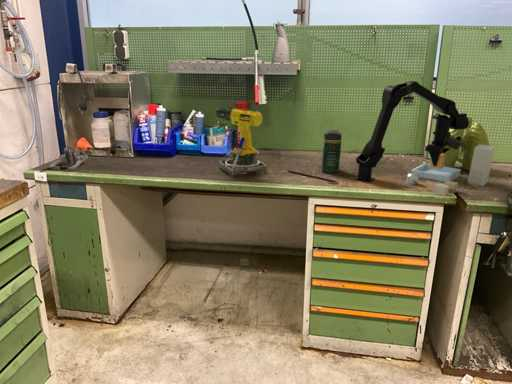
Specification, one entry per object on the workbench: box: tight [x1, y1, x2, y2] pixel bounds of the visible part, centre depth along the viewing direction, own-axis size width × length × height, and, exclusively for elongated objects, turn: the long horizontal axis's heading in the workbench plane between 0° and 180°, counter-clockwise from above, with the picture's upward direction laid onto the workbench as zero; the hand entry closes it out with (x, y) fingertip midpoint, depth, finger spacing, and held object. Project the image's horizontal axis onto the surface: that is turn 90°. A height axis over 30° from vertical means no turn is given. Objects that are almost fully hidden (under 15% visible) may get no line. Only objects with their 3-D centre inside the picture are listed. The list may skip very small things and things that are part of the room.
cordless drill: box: [213, 106, 268, 177], centre depth 188 cm, size 18×19×28 cm
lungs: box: [429, 116, 491, 171], centre depth 195 cm, size 25×16×24 cm, turn 80°
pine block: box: [443, 181, 459, 194], centre depth 165 cm, size 4×4×4 cm
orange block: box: [429, 154, 446, 169], centre depth 183 cm, size 4×4×6 cm
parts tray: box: [410, 162, 462, 184], centre depth 185 cm, size 16×16×3 cm
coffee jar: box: [321, 129, 343, 174], centre depth 189 cm, size 10×8×19 cm
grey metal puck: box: [406, 172, 420, 186], centre depth 174 cm, size 4×4×4 cm
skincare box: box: [467, 144, 496, 187], centre depth 174 cm, size 8×7×16 cm
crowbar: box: [287, 168, 339, 185], centre depth 181 cm, size 28×1×5 cm
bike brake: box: [39, 147, 89, 173], centre depth 191 cm, size 14×7×20 cm
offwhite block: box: [433, 182, 449, 197], centre depth 161 cm, size 4×4×4 cm
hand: (436, 165), depth 184 cm, fingers closed on orange block, 4 cm apart
